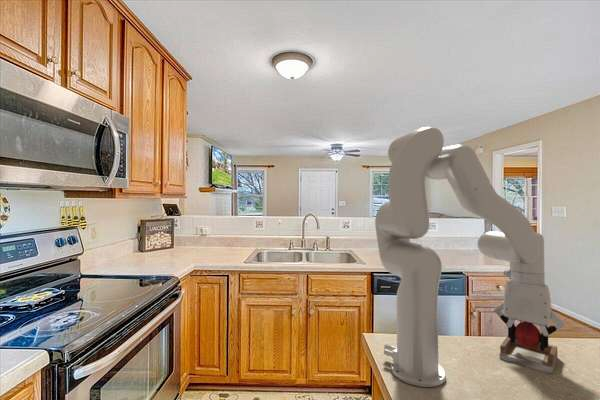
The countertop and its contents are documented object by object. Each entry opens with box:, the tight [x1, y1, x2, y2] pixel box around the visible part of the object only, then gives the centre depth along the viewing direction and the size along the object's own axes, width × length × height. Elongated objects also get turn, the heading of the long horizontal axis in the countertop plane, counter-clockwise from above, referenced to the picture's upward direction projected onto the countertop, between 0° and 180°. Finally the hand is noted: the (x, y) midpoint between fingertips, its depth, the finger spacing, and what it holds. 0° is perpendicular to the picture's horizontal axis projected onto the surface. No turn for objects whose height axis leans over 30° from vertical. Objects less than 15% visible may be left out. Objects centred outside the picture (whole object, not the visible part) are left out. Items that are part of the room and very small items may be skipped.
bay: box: [499, 335, 559, 375], centre depth 82 cm, size 11×11×3 cm
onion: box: [514, 321, 541, 349], centre depth 82 cm, size 6×6×8 cm
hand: (527, 344), depth 82 cm, fingers closed on onion, 5 cm apart
